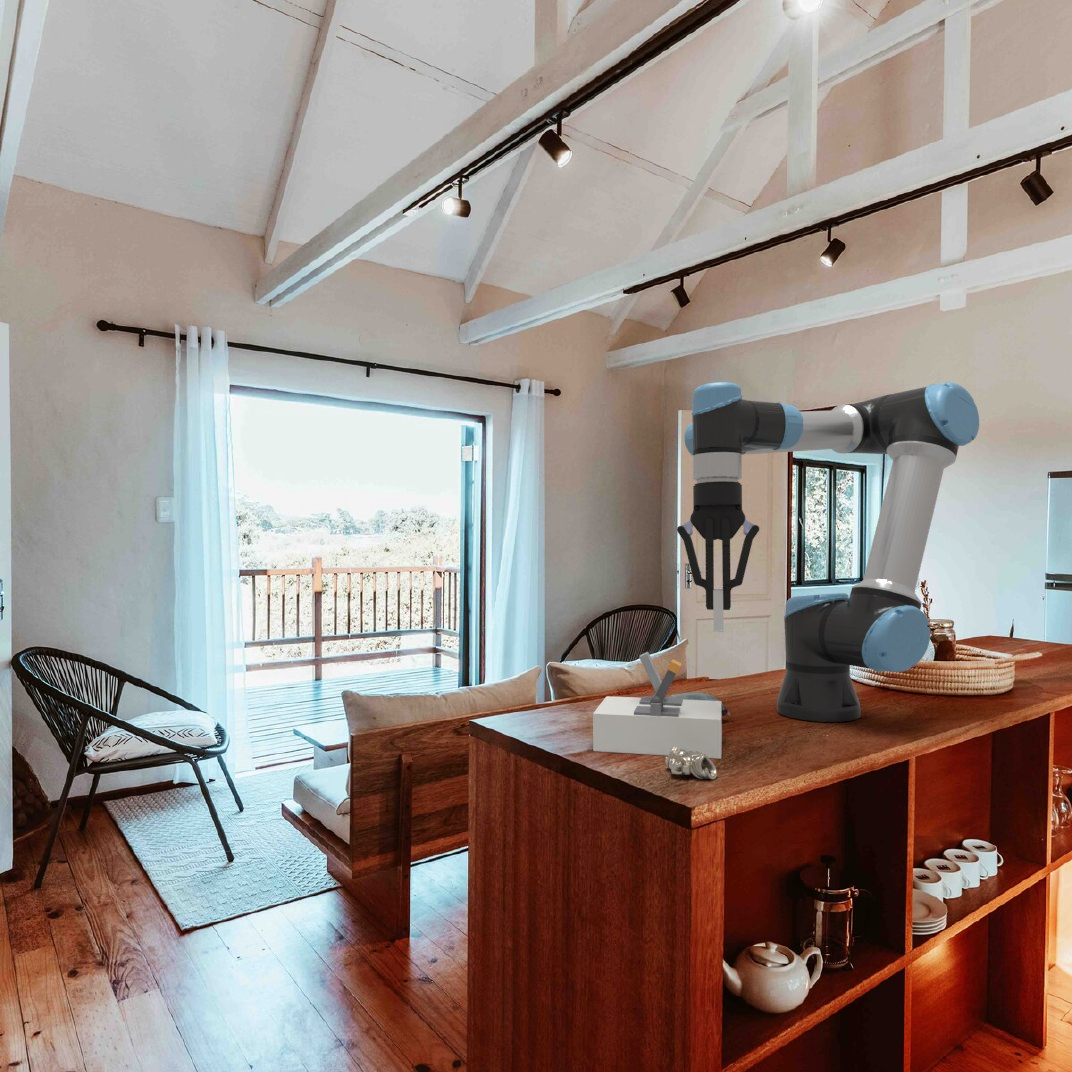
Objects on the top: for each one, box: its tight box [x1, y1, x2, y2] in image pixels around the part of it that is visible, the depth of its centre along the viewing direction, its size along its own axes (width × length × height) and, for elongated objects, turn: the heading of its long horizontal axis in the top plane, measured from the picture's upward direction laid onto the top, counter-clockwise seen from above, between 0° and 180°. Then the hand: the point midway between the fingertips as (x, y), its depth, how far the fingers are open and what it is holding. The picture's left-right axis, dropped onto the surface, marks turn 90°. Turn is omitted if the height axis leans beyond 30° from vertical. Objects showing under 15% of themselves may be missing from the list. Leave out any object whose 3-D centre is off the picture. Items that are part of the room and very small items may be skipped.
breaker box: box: [592, 651, 723, 760], centre depth 124 cm, size 20×14×14 cm
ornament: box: [665, 747, 718, 780], centre depth 107 cm, size 8×7×4 cm
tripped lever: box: [650, 658, 682, 707], centre depth 120 cm, size 2×3×8 cm
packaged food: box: [669, 692, 731, 718], centre depth 142 cm, size 9×12×5 cm
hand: (718, 630), depth 118 cm, fingers closed
